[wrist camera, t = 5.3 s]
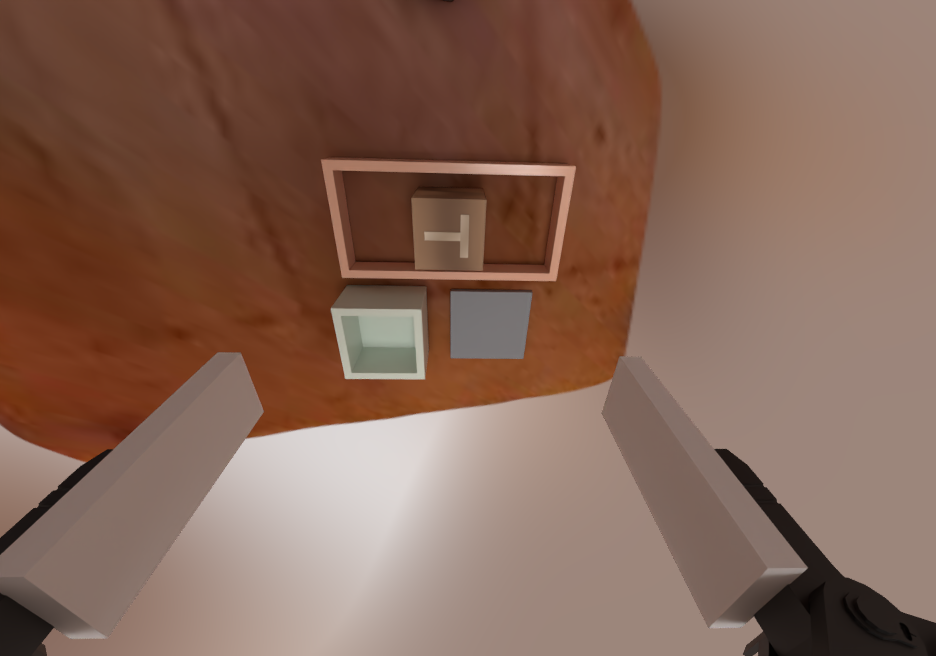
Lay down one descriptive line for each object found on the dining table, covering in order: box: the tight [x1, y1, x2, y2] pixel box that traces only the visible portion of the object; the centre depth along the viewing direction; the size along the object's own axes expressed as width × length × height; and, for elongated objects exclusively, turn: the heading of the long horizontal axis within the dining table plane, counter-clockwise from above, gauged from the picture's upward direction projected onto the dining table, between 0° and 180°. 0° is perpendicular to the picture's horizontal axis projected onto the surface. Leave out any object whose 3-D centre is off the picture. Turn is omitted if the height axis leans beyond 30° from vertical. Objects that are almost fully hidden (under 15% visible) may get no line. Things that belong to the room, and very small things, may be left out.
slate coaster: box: [451, 289, 532, 359], centre depth 39 cm, size 9×9×1 cm
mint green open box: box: [331, 285, 429, 379], centre depth 37 cm, size 9×9×6 cm
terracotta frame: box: [321, 157, 576, 281], centre depth 32 cm, size 22×11×2 cm, turn 89°
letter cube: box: [411, 187, 487, 271], centre depth 31 cm, size 6×6×6 cm
